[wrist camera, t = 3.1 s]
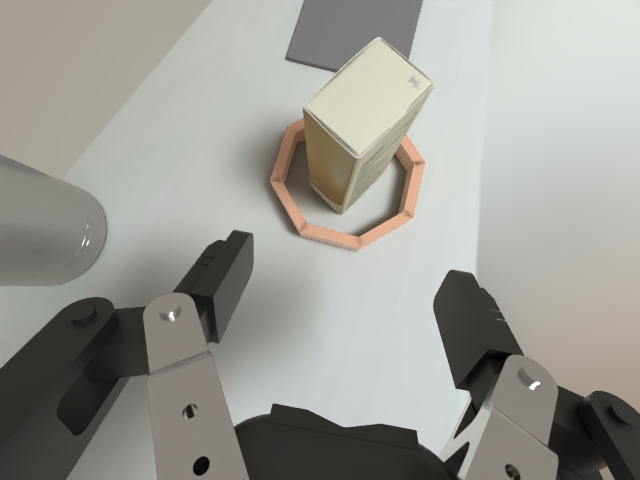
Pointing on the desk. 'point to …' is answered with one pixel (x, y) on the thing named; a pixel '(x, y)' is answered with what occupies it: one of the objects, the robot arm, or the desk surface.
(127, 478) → the desk surface
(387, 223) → the ring
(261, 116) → the desk surface
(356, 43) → the mat
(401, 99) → the skincare box
